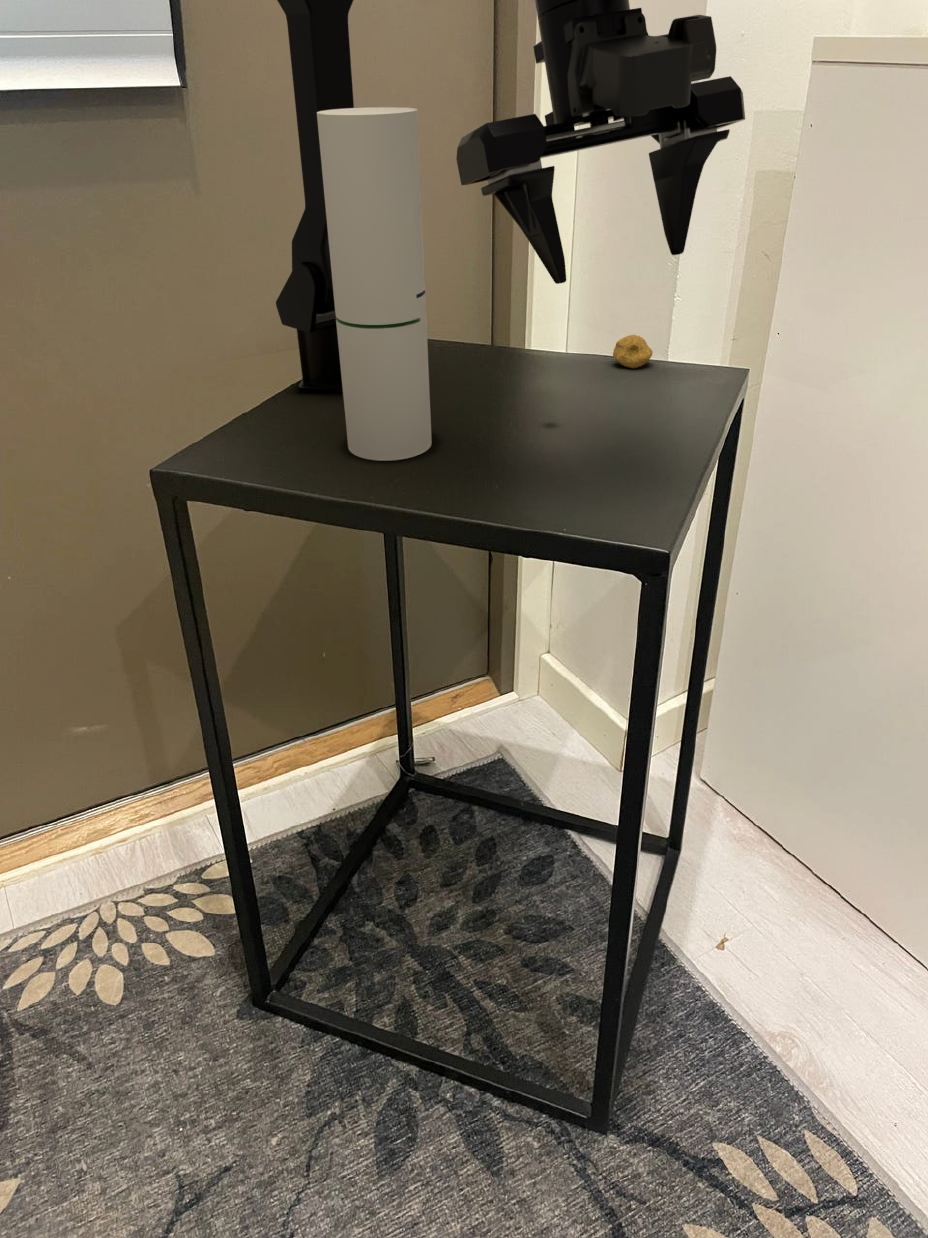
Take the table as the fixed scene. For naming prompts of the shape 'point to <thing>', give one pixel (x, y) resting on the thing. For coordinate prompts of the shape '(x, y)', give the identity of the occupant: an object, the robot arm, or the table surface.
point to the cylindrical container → (378, 277)
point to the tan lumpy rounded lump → (632, 351)
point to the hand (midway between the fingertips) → (620, 268)
